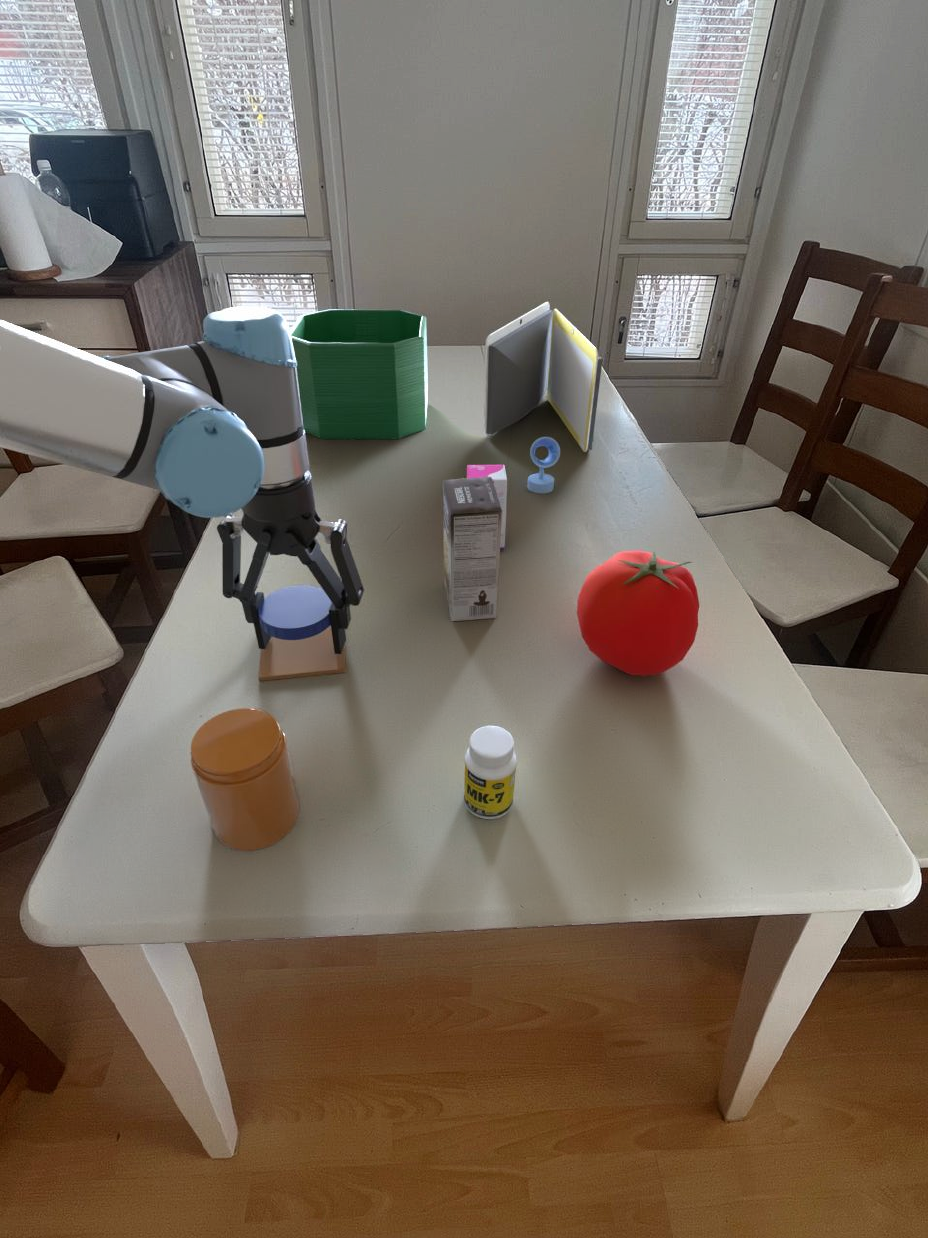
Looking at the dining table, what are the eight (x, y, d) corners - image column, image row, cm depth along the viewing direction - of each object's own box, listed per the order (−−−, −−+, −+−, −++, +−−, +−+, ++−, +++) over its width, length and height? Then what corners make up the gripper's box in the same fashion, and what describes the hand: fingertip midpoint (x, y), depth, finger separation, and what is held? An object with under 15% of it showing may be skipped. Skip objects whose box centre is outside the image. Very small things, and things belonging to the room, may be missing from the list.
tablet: (604, 452, 132) (619, 347, 121) (493, 460, 129) (497, 352, 117) (554, 390, 160) (562, 300, 148) (462, 395, 157) (462, 303, 145)
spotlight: (556, 497, 117) (552, 479, 123) (562, 441, 111) (558, 425, 117) (527, 497, 117) (525, 479, 123) (531, 441, 111) (528, 425, 117)
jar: (207, 856, 62) (179, 780, 55) (218, 786, 68) (194, 710, 62) (298, 844, 63) (281, 768, 57) (300, 776, 69) (285, 701, 63)
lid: (340, 596, 85) (339, 584, 84) (329, 640, 78) (328, 628, 77) (269, 595, 85) (266, 584, 84) (252, 640, 78) (249, 628, 77)
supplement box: (502, 531, 108) (506, 463, 101) (504, 551, 103) (508, 481, 97) (465, 531, 108) (466, 463, 101) (466, 551, 103) (466, 481, 96)
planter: (293, 439, 136) (279, 343, 125) (314, 393, 157) (303, 308, 146) (425, 439, 137) (423, 344, 126) (428, 394, 157) (426, 309, 146)
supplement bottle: (458, 815, 65) (458, 755, 60) (470, 777, 69) (471, 717, 64) (508, 825, 65) (512, 765, 60) (517, 786, 68) (522, 727, 63)
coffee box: (442, 583, 97) (441, 477, 87) (487, 580, 97) (491, 475, 88) (450, 623, 89) (450, 512, 80) (499, 619, 90) (504, 509, 80)
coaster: (258, 681, 80) (258, 677, 80) (264, 629, 88) (263, 625, 88) (345, 672, 82) (345, 668, 81) (343, 621, 89) (342, 617, 89)
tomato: (708, 689, 80) (737, 592, 71) (595, 705, 77) (612, 606, 69) (652, 610, 92) (671, 519, 84) (553, 622, 90) (563, 529, 81)
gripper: (383, 462, 73) (394, 630, 87) (187, 453, 74) (229, 620, 88) (368, 495, 67) (383, 670, 81) (155, 484, 68) (206, 658, 82)
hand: (302, 644), depth 84 cm, fingers closed on lid, 9 cm apart
